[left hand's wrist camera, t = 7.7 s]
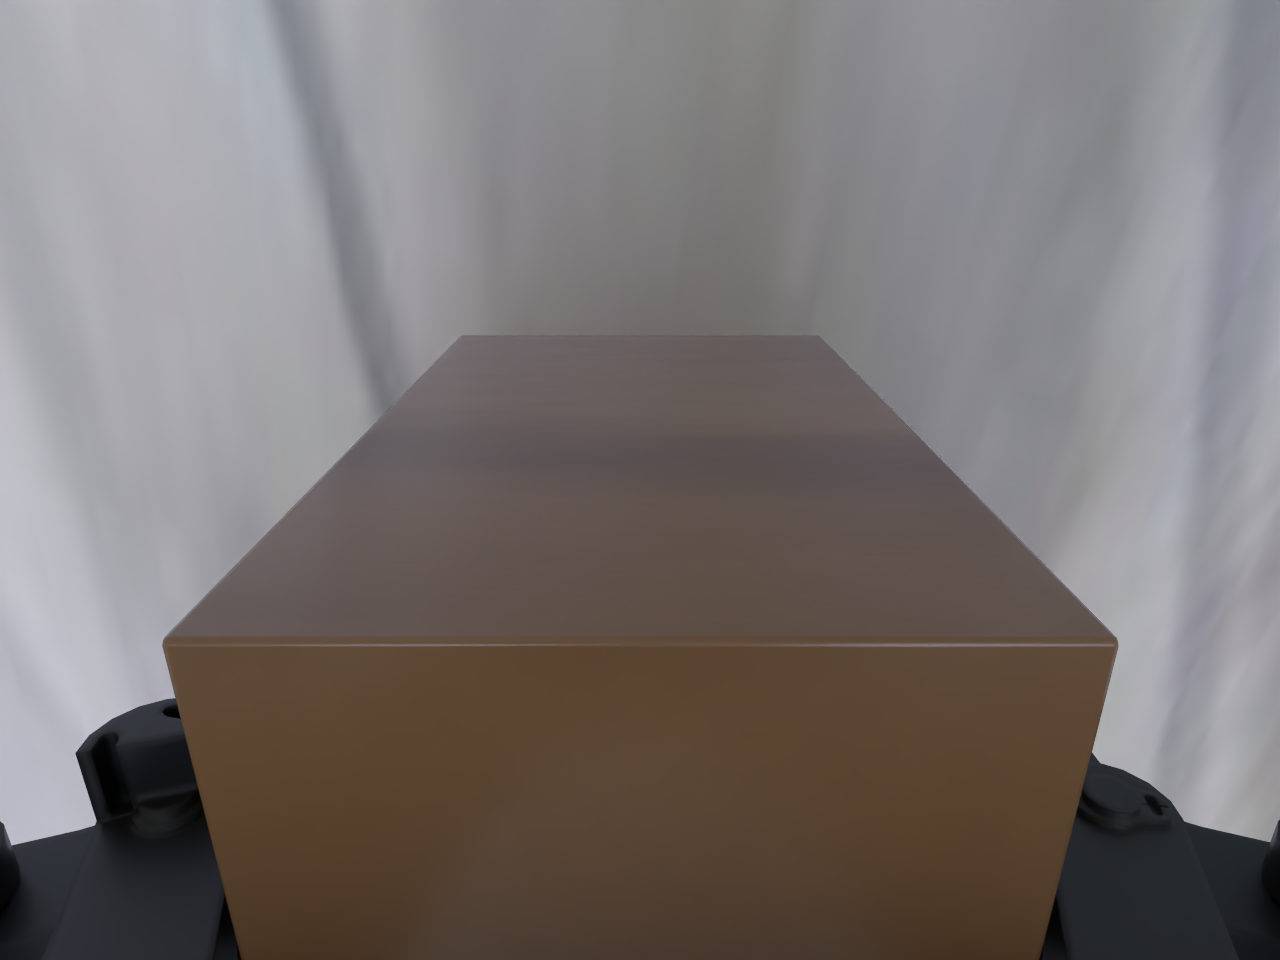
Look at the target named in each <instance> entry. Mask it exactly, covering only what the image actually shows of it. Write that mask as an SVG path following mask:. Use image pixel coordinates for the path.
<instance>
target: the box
mask: <svg viewBox="0 0 1280 960" xmlns="http://www.w3.org/2000/svg"><path fill="white" fill-rule="evenodd" d="M163 650H164V654H165V658H166V662H167V665H168V669H169V673H170V677H171V681H172V685H173V689H174V693H175V697H176V701H177V705H178V709H179V713H180V717H181V721H182V725H183V729H184V733H185V737H186V741H187V745H188V749H189V753H190V757H191V761H192V765H193V769H194V773H195V777H196V781H197V785H198V789H199V793H200V797H201V801H202V805H203V809H204V813H205V817H206V821H207V825H208V829H209V832H210V836H211V840H212V844H213V848H214V852H215V856H216V860H217V864H218V868H219V872H220V876H221V880H222V884H223V888H224V892H225V896H226V900H227V904H228V908H229V912H230V916H231V920H232V924H233V928H234V932H235V936H236V940H237V944H238V948H239V952H240V956H241V960H1039V959H1040V955H1041V951H1042V947H1043V943H1044V939H1045V935H1046V931H1047V927H1048V923H1049V919H1050V915H1051V911H1052V907H1053V903H1054V899H1055V895H1056V891H1057V887H1058V884H1059V880H1060V876H1061V872H1062V868H1063V864H1064V860H1065V856H1066V852H1067V848H1068V844H1069V840H1070V836H1071V832H1072V828H1073V824H1074V820H1075V816H1076V812H1077V808H1078V804H1079V800H1080V796H1081V792H1082V788H1083V784H1084V780H1085V777H1086V773H1087V769H1088V765H1089V761H1090V757H1091V753H1092V749H1093V745H1094V741H1095V737H1096V733H1097V729H1098V725H1099V721H1100V717H1101V713H1102V709H1103V705H1104V701H1105V697H1106V693H1107V689H1108V685H1109V681H1110V677H1111V673H1112V669H1113V666H1114V662H1115V658H1116V654H1117V650H1118V641H1117V638H1116V637H1115V636H1114V635H1113V634H1112V633H1111V632H1110V631H1109V630H1108V629H1107V628H1106V627H1105V626H1104V625H1103V624H1102V623H1101V622H1100V621H1099V620H1098V619H1097V618H1096V616H1095V615H1094V614H1093V613H1092V612H1091V611H1090V610H1089V609H1088V608H1087V607H1086V606H1085V605H1084V604H1083V603H1082V602H1081V601H1080V600H1079V599H1078V598H1077V597H1076V596H1075V595H1074V594H1073V593H1072V592H1071V591H1070V590H1069V589H1068V588H1067V587H1066V586H1065V585H1064V584H1063V583H1062V582H1061V581H1060V580H1059V579H1058V578H1057V577H1056V576H1055V575H1054V574H1053V573H1052V572H1051V571H1050V570H1049V569H1048V568H1047V567H1046V566H1045V565H1044V564H1043V563H1042V562H1041V561H1040V560H1039V559H1038V558H1037V557H1036V556H1035V555H1034V553H1033V552H1032V551H1031V550H1030V549H1029V548H1028V547H1027V546H1026V545H1025V544H1024V543H1023V542H1022V541H1021V540H1020V539H1019V538H1018V537H1017V536H1016V535H1015V534H1014V533H1013V532H1012V531H1011V530H1010V529H1009V528H1008V527H1007V526H1006V525H1005V524H1004V523H1003V522H1002V521H1001V520H1000V519H999V518H998V517H997V516H996V515H995V514H994V513H993V512H992V511H991V510H990V509H989V508H988V507H987V506H986V505H985V504H984V503H983V502H982V501H981V500H980V499H979V498H978V497H977V496H976V495H975V494H974V493H973V491H972V490H971V489H970V488H969V487H968V486H967V485H966V484H965V483H964V482H963V481H962V480H961V479H960V478H959V477H958V476H957V475H956V474H955V473H954V472H953V471H952V470H951V469H950V468H949V467H948V466H947V465H946V464H945V463H944V462H943V461H942V460H941V459H940V458H939V457H938V456H937V455H936V454H935V453H934V452H933V451H932V450H931V449H930V448H929V447H928V446H927V445H926V444H925V443H924V442H923V441H922V440H921V439H920V438H919V437H918V436H917V435H916V434H915V433H914V432H913V431H912V430H911V428H910V427H909V426H908V425H907V424H906V423H905V422H904V421H903V420H902V419H901V418H900V417H899V416H898V415H897V414H896V413H895V412H894V411H893V410H892V409H891V408H890V407H889V406H888V405H887V404H886V403H885V402H884V401H883V400H882V399H881V398H880V397H879V396H878V395H877V394H876V393H875V392H874V391H873V390H872V389H871V388H870V387H869V386H868V385H867V384H866V383H865V382H864V381H863V380H862V379H861V378H860V377H859V376H858V375H857V374H856V373H855V372H854V371H853V370H852V369H851V368H850V367H849V365H848V364H847V363H846V362H845V361H844V360H843V359H842V358H841V357H840V356H839V355H838V354H837V353H836V352H835V351H834V350H833V349H832V348H831V347H830V346H829V345H828V344H827V343H826V342H825V341H824V340H823V339H822V338H821V337H820V336H461V337H460V338H459V339H458V340H457V341H456V342H455V343H454V344H453V345H452V346H451V347H450V348H449V349H448V350H447V351H446V352H445V353H444V354H443V355H442V356H441V357H440V358H439V359H438V360H437V361H436V362H435V363H434V364H433V365H432V366H431V367H430V368H429V369H428V370H427V371H426V372H425V373H424V374H423V375H422V376H421V377H420V378H419V379H418V380H417V381H416V382H415V383H414V384H413V385H412V386H411V387H410V389H409V390H408V391H407V392H406V393H405V394H404V395H403V396H402V397H401V398H400V399H399V400H398V401H397V402H396V403H395V404H394V405H393V406H392V407H391V408H390V409H389V410H388V411H387V412H386V413H385V414H384V415H383V416H382V417H381V418H380V419H379V420H378V421H377V422H376V423H375V424H374V425H373V426H372V427H371V428H370V429H369V430H368V431H367V432H366V433H365V434H364V435H363V436H362V437H361V438H360V439H359V440H358V441H357V442H356V443H355V444H354V445H353V446H352V447H351V448H350V449H349V451H348V452H347V453H346V454H345V455H344V456H343V457H342V458H341V459H340V460H339V461H338V462H337V463H336V464H335V465H334V466H333V467H332V468H331V469H330V470H329V471H328V472H327V473H326V474H325V475H324V476H323V477H322V478H321V479H320V480H319V481H318V482H317V483H316V484H315V485H314V486H313V487H312V488H311V489H310V490H309V491H308V492H307V493H306V494H305V495H304V496H303V497H302V498H301V499H300V500H299V501H298V502H297V503H296V504H295V505H294V506H293V507H292V508H291V509H290V510H289V511H288V513H287V514H286V515H285V516H284V517H283V518H282V519H281V520H280V521H279V522H278V523H277V524H276V525H275V526H274V527H273V528H272V529H271V530H270V531H269V532H268V533H267V534H266V535H265V536H264V537H263V538H262V539H261V540H260V541H259V542H258V543H257V544H256V545H255V546H254V547H253V548H252V549H251V550H250V551H249V552H248V553H247V554H246V555H245V556H244V557H243V558H242V559H241V560H240V561H239V562H238V563H237V564H236V565H235V566H234V567H233V568H232V569H231V570H230V571H229V572H228V573H227V574H226V576H225V577H224V578H223V579H222V580H221V581H220V582H219V583H218V584H217V585H216V586H215V587H214V588H213V589H212V590H211V591H210V592H209V593H208V594H207V595H206V596H205V597H204V598H203V599H202V600H201V601H200V602H199V603H198V604H197V605H196V606H195V607H194V608H193V609H192V610H191V611H190V612H189V613H188V614H187V615H186V616H185V617H184V618H183V619H182V620H181V621H180V622H179V623H178V624H177V625H176V626H175V627H174V628H173V629H172V630H171V631H170V632H169V633H168V634H167V635H166V636H165V638H164V640H163Z"/></svg>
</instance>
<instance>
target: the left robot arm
mask: <svg viewBox="0 0 1280 960" xmlns="http://www.w3.org/2000/svg"><path fill="white" fill-rule="evenodd" d="M76 756H77V760H78V763H79V766H80V769H81V772H82V775H83V779H84V782H85V785H86V788H87V791H88V794H89V798H90V801H91V804H92V807H93V810H94V813H95V817H96V820H97V822H96V824H95V826H92V827H88V828H85V829H82V830H78V831H74V832H69V833H65V834H61V835H56V836H52V837H47V838H43V839H39V840H34V841H30V842H25V843H21V844H17V845H12V846H11V843H10V840H9V838H8V835H7V832H6V829H5V827H4V824H3V823H1V822H0V960H241V956H240V952H239V948H238V944H237V940H236V936H235V932H234V928H233V924H232V920H231V916H230V912H229V908H228V904H227V900H226V896H225V892H224V888H223V884H222V880H221V876H220V872H219V868H218V864H217V860H216V856H215V852H214V848H213V844H212V840H211V836H210V832H209V829H208V825H207V821H206V817H205V813H204V809H203V805H202V801H201V797H200V793H199V789H198V785H197V781H196V777H195V773H194V769H193V765H192V761H191V757H190V753H189V749H188V745H187V741H186V737H185V733H184V729H183V725H182V721H181V717H180V713H179V709H178V705H177V701H176V699H166V700H162V701H159V702H155V703H151V704H147V705H143V706H140V707H137V708H135V709H133V710H131V711H129V712H126V713H124V714H122V715H120V716H118V717H115V718H113V719H111V720H110V721H109V722H107V723H106V724H105V725H103V726H102V727H100V728H99V729H98V730H96V731H95V732H93V733H92V734H91V735H89V737H88V738H87V739H86V740H85V742H84V743H83V744H82V746H81V747H80V748H79V749H78V751H77V752H76ZM1039 960H1280V820H1279V821H1278V824H1277V826H1276V829H1275V832H1274V834H1273V837H1272V840H1271V842H1266V841H1262V840H1257V839H1253V838H1248V837H1244V836H1239V835H1235V834H1231V833H1226V832H1222V831H1217V830H1213V829H1208V828H1204V827H1200V826H1197V825H1194V824H1190V823H1187V822H1184V820H1183V819H1182V817H1181V816H1180V814H1179V813H1178V811H1177V810H1176V808H1175V807H1174V805H1173V804H1172V802H1171V801H1170V800H1169V799H1167V798H1166V797H1165V796H1164V795H1163V794H1161V793H1160V792H1159V791H1158V790H1157V789H1155V788H1154V787H1153V786H1152V785H1150V784H1149V783H1147V782H1145V781H1143V780H1141V779H1140V778H1138V777H1136V776H1134V775H1132V774H1130V773H1128V772H1126V771H1124V770H1121V769H1118V768H1115V767H1111V766H1108V765H1104V764H1101V763H1099V761H1098V760H1097V759H1096V757H1095V756H1094V755H1093V753H1091V757H1090V761H1089V765H1088V769H1087V773H1086V777H1085V780H1084V784H1083V788H1082V792H1081V796H1080V800H1079V804H1078V808H1077V812H1076V816H1075V820H1074V824H1073V828H1072V832H1071V836H1070V840H1069V844H1068V848H1067V852H1066V856H1065V860H1064V864H1063V868H1062V872H1061V876H1060V880H1059V884H1058V887H1057V891H1056V895H1055V899H1054V903H1053V907H1052V911H1051V915H1050V919H1049V923H1048V927H1047V931H1046V935H1045V939H1044V943H1043V947H1042V951H1041V955H1040V959H1039Z"/></svg>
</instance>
